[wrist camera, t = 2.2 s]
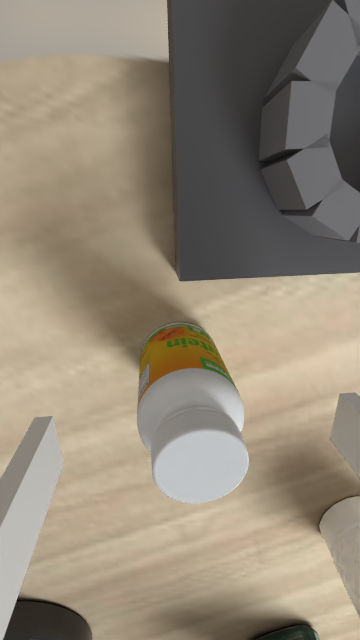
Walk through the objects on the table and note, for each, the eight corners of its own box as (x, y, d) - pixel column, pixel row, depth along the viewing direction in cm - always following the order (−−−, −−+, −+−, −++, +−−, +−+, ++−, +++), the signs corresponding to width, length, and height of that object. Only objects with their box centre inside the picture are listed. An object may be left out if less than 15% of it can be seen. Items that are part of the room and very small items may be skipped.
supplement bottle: (225, 329, 20) (287, 425, 11) (203, 392, 22) (241, 520, 13) (150, 312, 19) (151, 403, 10) (133, 380, 21) (121, 510, 12)
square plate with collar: (175, 272, 18) (186, 296, 13) (166, -27, 13) (177, -175, 8) (434, 260, 20) (532, 277, 15) (512, -12, 15) (702, -128, 10)
